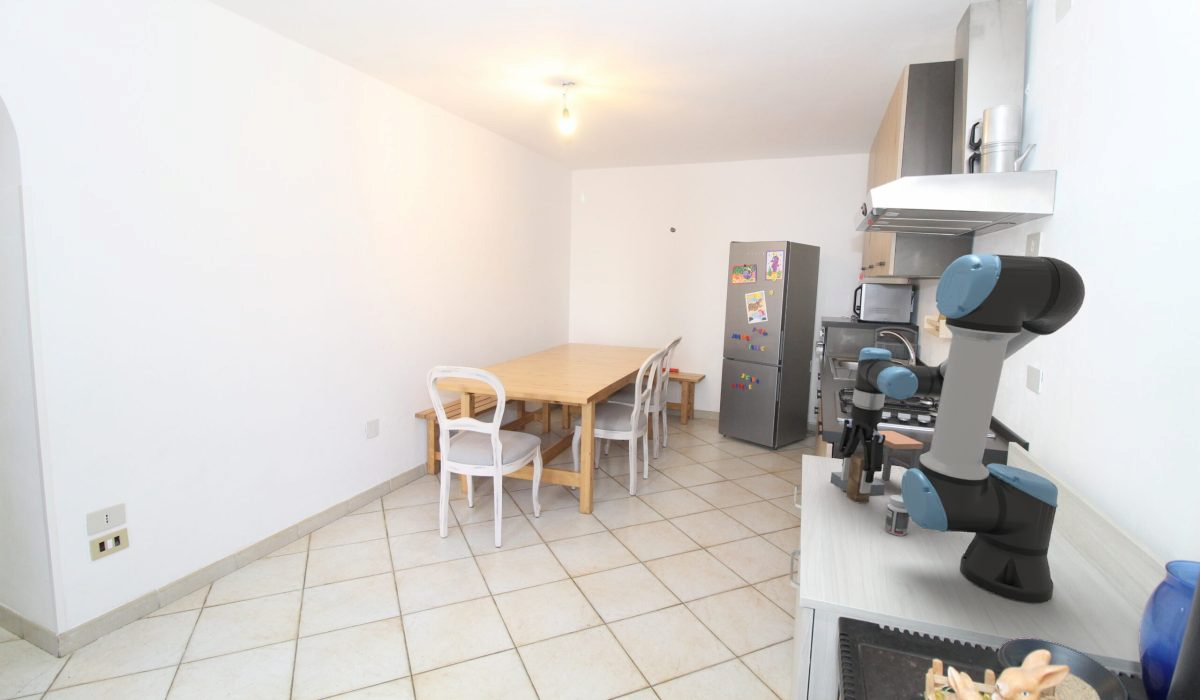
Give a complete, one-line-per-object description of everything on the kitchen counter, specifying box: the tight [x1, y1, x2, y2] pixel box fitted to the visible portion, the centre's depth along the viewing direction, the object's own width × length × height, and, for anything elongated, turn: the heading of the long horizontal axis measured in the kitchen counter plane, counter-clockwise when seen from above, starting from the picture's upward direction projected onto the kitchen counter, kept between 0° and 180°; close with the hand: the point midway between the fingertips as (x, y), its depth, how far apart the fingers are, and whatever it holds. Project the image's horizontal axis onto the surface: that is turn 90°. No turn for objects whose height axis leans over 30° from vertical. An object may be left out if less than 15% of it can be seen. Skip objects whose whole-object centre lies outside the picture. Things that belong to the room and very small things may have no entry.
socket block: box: [830, 471, 886, 496], centre depth 156 cm, size 10×10×3 cm
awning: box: [878, 430, 924, 482], centre depth 157 cm, size 12×9×15 cm
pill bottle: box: [884, 494, 910, 537], centre depth 130 cm, size 5×5×8 cm
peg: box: [845, 453, 871, 504], centre depth 148 cm, size 4×4×12 cm
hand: (855, 486), depth 150 cm, fingers open, 7 cm apart
